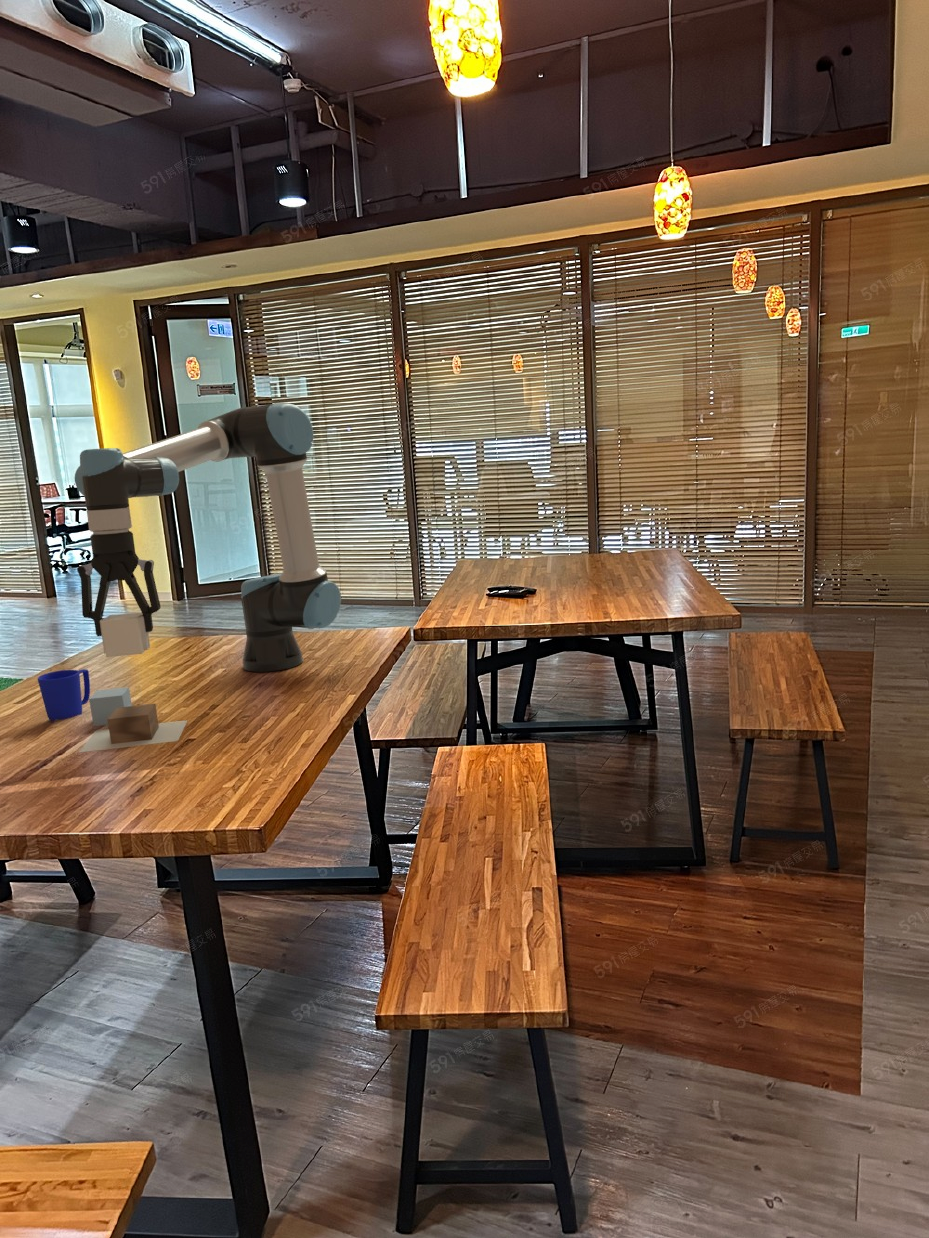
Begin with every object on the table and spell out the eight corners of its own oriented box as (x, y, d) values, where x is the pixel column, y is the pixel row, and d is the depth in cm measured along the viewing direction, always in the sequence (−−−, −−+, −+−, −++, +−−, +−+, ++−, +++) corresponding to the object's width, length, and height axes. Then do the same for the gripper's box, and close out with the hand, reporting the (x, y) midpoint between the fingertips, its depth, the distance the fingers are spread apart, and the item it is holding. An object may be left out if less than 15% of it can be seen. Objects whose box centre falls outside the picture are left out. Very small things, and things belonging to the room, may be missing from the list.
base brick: (158, 727, 172) (155, 703, 171) (151, 739, 165) (148, 714, 164) (120, 731, 171) (116, 707, 170) (111, 744, 164) (107, 719, 163)
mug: (107, 708, 192) (100, 665, 190) (66, 726, 181) (58, 680, 179) (78, 706, 195) (71, 664, 193) (36, 724, 183) (28, 679, 181)
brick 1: (148, 647, 169) (143, 612, 168) (141, 653, 163) (137, 617, 162) (114, 650, 168) (109, 615, 167) (106, 657, 162) (101, 621, 161)
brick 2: (133, 718, 183) (128, 686, 182) (127, 727, 177) (122, 695, 176) (102, 721, 182) (96, 690, 181) (94, 731, 176) (89, 698, 175)
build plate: (188, 724, 176) (187, 720, 176) (178, 745, 163) (177, 740, 163) (96, 735, 173) (96, 730, 173) (79, 757, 160) (78, 752, 160)
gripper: (168, 526, 167) (182, 641, 171) (62, 533, 164) (80, 650, 168) (160, 529, 159) (176, 649, 164) (50, 537, 156) (69, 659, 161)
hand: (127, 650), depth 166 cm, fingers closed on brick 1, 6 cm apart
